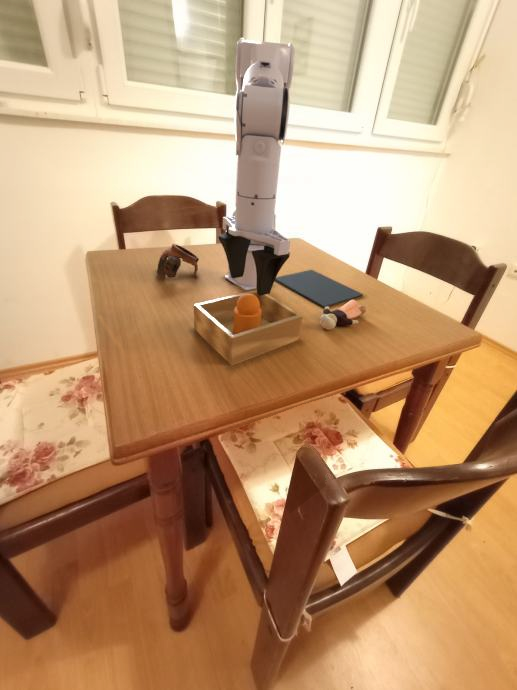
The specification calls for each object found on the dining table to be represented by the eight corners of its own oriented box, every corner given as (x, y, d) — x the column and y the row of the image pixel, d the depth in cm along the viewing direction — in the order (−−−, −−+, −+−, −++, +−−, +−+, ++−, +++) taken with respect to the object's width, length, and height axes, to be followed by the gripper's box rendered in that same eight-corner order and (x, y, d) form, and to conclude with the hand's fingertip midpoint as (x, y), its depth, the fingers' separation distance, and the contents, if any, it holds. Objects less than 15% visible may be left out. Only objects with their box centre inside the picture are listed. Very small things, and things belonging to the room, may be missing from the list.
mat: (273, 279, 81) (273, 278, 81) (311, 271, 89) (311, 269, 88) (323, 308, 70) (324, 306, 69) (362, 295, 77) (363, 294, 77)
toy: (228, 331, 57) (229, 291, 53) (249, 325, 60) (252, 286, 55) (242, 344, 54) (245, 303, 50) (264, 336, 57) (268, 297, 52)
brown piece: (158, 268, 82) (172, 240, 80) (190, 286, 84) (205, 259, 82) (145, 273, 71) (161, 241, 69) (182, 294, 73) (199, 263, 71)
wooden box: (194, 331, 57) (193, 304, 54) (257, 313, 65) (259, 288, 62) (231, 367, 49) (232, 338, 46) (298, 342, 57) (302, 315, 54)
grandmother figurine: (372, 302, 65) (342, 319, 57) (369, 319, 67) (340, 338, 58) (339, 295, 70) (307, 309, 61) (337, 311, 71) (306, 327, 63)
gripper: (205, 187, 47) (206, 273, 54) (265, 207, 37) (256, 308, 45) (244, 186, 50) (240, 267, 58) (307, 204, 41) (292, 298, 49)
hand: (249, 284), depth 52 cm, fingers open, 7 cm apart
